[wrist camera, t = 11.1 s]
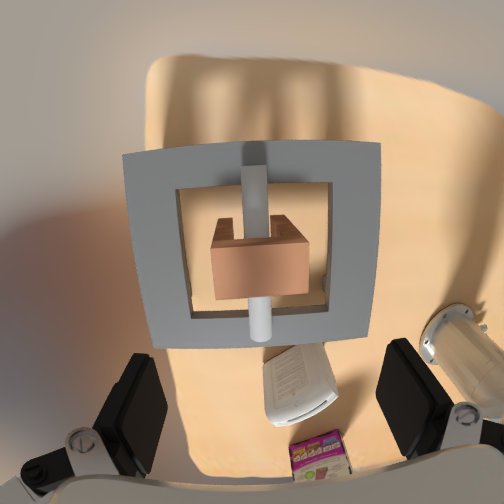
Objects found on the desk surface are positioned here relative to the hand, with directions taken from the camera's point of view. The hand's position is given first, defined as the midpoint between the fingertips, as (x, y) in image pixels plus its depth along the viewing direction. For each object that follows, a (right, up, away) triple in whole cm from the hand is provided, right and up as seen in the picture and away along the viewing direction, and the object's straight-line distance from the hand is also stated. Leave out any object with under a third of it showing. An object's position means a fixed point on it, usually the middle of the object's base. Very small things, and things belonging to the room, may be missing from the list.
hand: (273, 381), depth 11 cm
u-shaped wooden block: (-1, +7, +21) cm, 22 cm away
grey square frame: (0, +8, +27) cm, 28 cm away
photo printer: (+6, -11, +33) cm, 35 cm away
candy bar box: (+13, -35, +41) cm, 55 cm away
